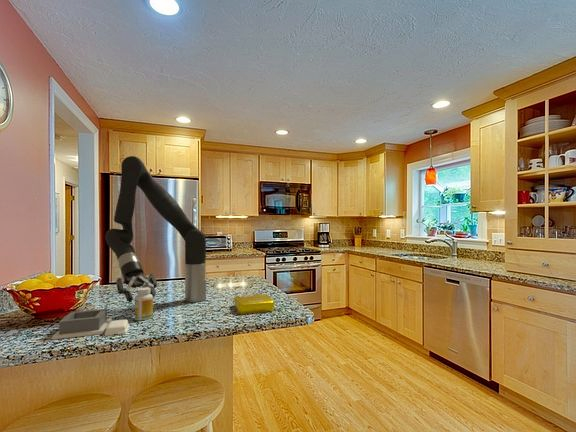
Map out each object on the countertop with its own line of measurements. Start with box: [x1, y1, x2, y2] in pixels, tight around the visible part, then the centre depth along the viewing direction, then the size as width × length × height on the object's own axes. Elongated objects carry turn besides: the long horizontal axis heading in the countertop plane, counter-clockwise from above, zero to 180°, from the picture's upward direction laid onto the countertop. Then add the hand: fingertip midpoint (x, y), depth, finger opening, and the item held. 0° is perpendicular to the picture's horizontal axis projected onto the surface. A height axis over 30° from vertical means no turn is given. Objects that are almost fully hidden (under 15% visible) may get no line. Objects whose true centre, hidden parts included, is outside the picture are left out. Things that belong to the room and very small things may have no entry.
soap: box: [104, 319, 130, 337], centre depth 102 cm, size 9×7×3 cm
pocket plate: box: [51, 308, 113, 340], centre depth 103 cm, size 14×14×5 cm
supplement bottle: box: [134, 287, 154, 321], centre depth 115 cm, size 6×6×11 cm
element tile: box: [233, 293, 275, 315], centre depth 128 cm, size 15×15×5 cm
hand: (142, 298), depth 116 cm, fingers open, 8 cm apart
